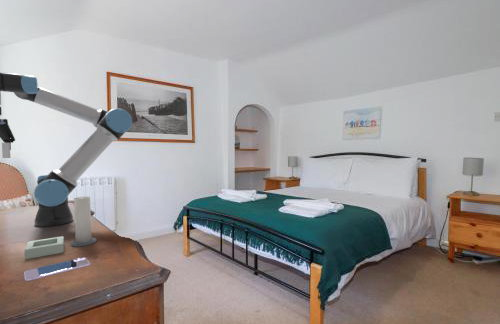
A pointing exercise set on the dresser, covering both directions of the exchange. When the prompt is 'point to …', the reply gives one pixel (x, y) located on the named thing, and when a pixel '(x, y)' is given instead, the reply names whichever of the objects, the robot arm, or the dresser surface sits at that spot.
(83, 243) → the coaster
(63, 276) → the dresser surface
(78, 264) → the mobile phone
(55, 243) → the holder
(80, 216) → the grey tall block
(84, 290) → the dresser surface
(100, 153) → the robot arm
